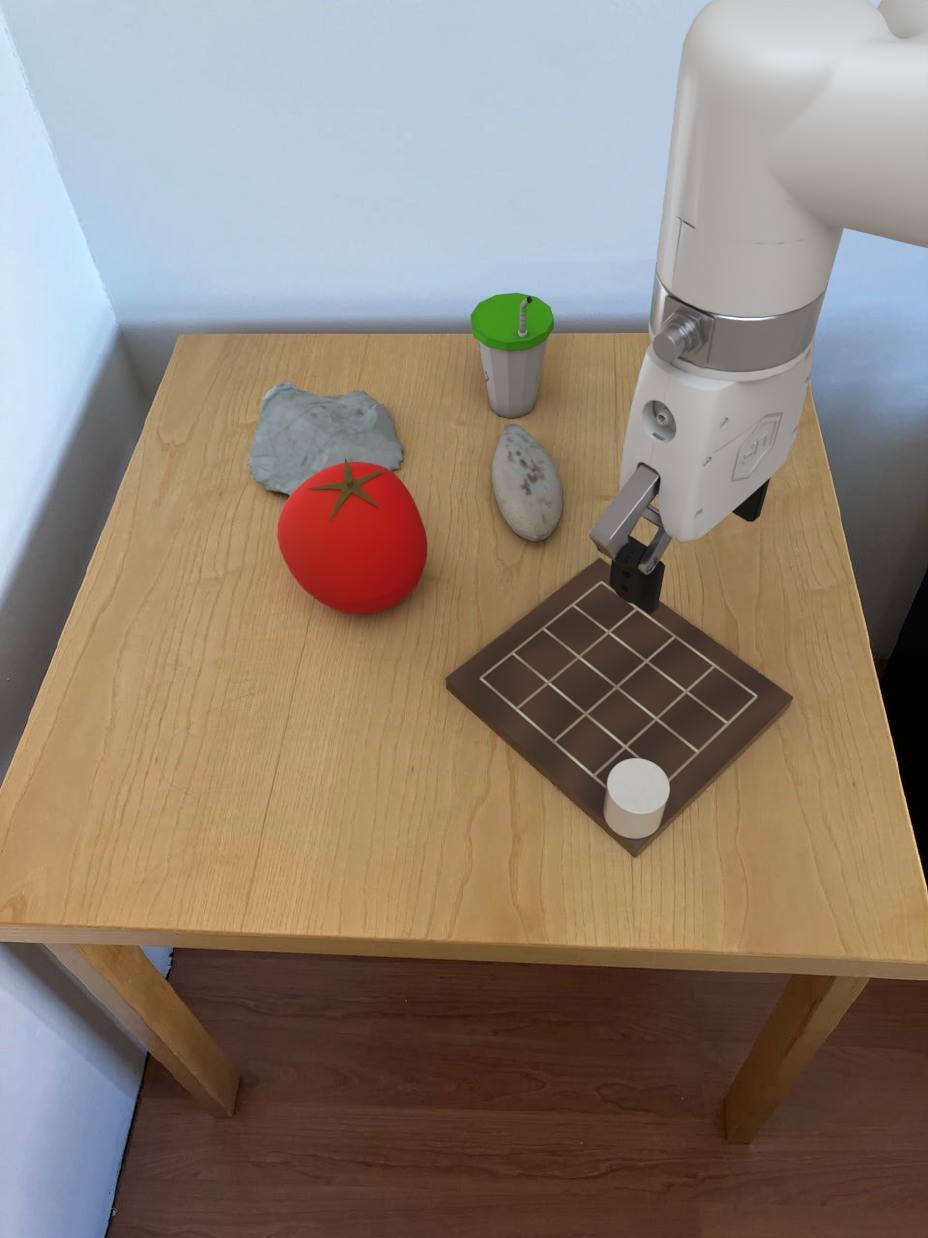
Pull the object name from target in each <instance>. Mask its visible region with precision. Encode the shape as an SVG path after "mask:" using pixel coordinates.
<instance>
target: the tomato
mask: <svg viewBox="0 0 928 1238" xmlns="http://www.w3.org/2000/svg"><path fill="white" fill-rule="evenodd" d="M276 537H277V542H278V547H279V550H280V553H281V555H282V557H283V561H284V562H285V565H286V566H287V568H288V570H289V572H290V574H291V575H292V576H293V578H294V579H295V581H296V582H297V583H298V584H299V585H300V586H301V588H302V589H303V590H304V591H305V592H307V593H308V594H309V595H311V596H312V597H313V598H315V600H317V601H318V602H320V603H321V604H322V605H325V606H326V607H328V608H330V609H333V610H336V611H339V612H341V613H346V614H350V615H369V614H374V613H378V612H382V611H385V610H387V609H391V608H392V607H394V606H397V604H399V603H401V602H402V601H403V600H404V599H405V598H406V597H407V596H409V595H410V594H412V592H413V591H414V590H415V588H416V587H417V585H418V584H419V583H420V580H421V578H422V576H423V573H424V570H425V566H426V562H427V558H428V540H427V539H428V538H427V532H426V529H425V525H424V522H423V520H422V516H421V514H420V511H419V509H418V506H417V504H416V502H415V500H414V498H413V496H412V493H411V492H410V490H409V489H408V488H407V486H406V484H404V482H403V481H402V480H401V479H400V477H399V476H398V475H396V473H394V472H393V471H392V472H391V471H390V470H388V468H385V467H382V466H380V465H376V464H372V463H366V462H347V460H346V458H345V463H340V464H336V465H334V466H331V467H328V468H325V469H323V470H321V471H319V472H317V473H316V474H314V475H313V476H311V477H310V478H308V479H307V480H306V481H304V482H303V483H302V484H301V485H300V486H299V487H298V488H297V489H296V490H295V491H294V492H293V493H292V494H291V495H290V496H288V498H287V500H286V501H285V503H284V505H283V507H282V509H281V511H280V513H279V518H278V521H277V533H276Z"/></svg>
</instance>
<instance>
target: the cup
mask: <svg viewBox="0 0 928 1238" xmlns="http://www.w3.org/2000/svg"><path fill="white" fill-rule="evenodd" d="M552 311H553V310H552V308H551V306H550V305H549V304H547V303H546V302H545V301H543V300H542V299H540V298H539V297H538V296H534V295H529V294H525V293H520V292H510V293H500V294H495V295H492V296H490V297H489V298H486V299H484V300H482V301H480V302H478V303H477V305H476V307H475V308H474V309H473V310H472V312H471V314H470V327H471V331H472V336H473V337H474V338H475V339H476V340H477V342H478V347H479V353H480V358H481V363H482V368H483V373H484V379H485V383H486V391H487V394H488V399H489V406H490V410H491V411H492V412H493V413H494V414H496V415H497V416H498V417H502V418H506V419H510V420H511V419H518V418H522V417H525V416H526V415H529V414H531V412H532V410H533V409H534V407H535V405H536V400H537V395H538V391H539V390H538V389H539V385H540V380H541V375H542V374H541V373H542V368H543V364H544V359H545V358H544V357H545V353H546V348H547V344H548V338H549V336H550V334H551V333H552V331H553V330H554V326H555V319H554V314H553V312H552Z"/></svg>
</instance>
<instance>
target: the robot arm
mask: <svg viewBox="0 0 928 1238" xmlns="http://www.w3.org/2000/svg"><path fill="white" fill-rule="evenodd" d="M675 90H676V91H675V99H674V100H675V101H674V109H673V116H672V125H671V133H670V134H671V135H670V143H669V152H668V160H667V169H666V176H665V187H664V197H663V203H662V211H661V220H660V227H659V234H658V243H657V244H658V245H657V249H656V250H657V251H656V261H655V267H654V276H653V277H654V278H653V284H652V285H653V286H652V292H651V293H652V294H651V302H650V309H649V319H648V335H649V339H650V343H649V344H648V346H647V348H646V351H645V353H644V357H643V361H642V364H641V368H640V370H639V374H638V377H637V382H636V385H635V389H634V393H633V397H632V402H631V406H630V411H629V414H628V419H627V420H628V421H627V425H626V431H625V435H624V442H623V449H622V455H621V462H620V473H619V492H618V493H617V495H616V496H615V497H614V499H613V500H612V501H611V502H610V504H609V505H608V506H607V508H606V509H605V510H604V511H603V512H602V514H601V515H600V517H598V519H597V520H596V522H595V523H594V525H592V527H591V529H590V531H589V535H588V537H589V539H590V540H591V542H592V543H593V544H594V546H595V547H596V549H597V551H598V552H600V553H601V554H602V555H604V556H605V557H607V558H609V559H610V560H611V563H610V565H611V571H610V581H609V584H610V586H611V588H612V589H613V590H614V591H615V592H616V594H617V595H618V596H619V597H621V598H622V599H623V600H625V601H626V602H628V603H633V604H635V605H636V606H638V607H639V608H641V609H642V610H644V611H645V612H646V613H648V614H651V613H653V612H654V611H655V610H656V609H657V608H658V605H659V600H660V599H661V595H662V587H663V582H664V576H665V570H666V565H665V563H664V561H662V560H661V559H662V558H663V555H664V554H665V552H666V550H667V549H668V547H669V545H670V543H671V542H672V540H673V539H674V540H676V541H678V542H679V543H682V544H684V543H685V544H686V543H690V542H693V541H696V540H698V539H700V538H702V537H704V536H705V535H706V534H708V532H710V531H711V530H712V529H714V528H715V527H716V526H717V525H718V524H719V523H720V522H722V521H723V520H724V519H725V518H727V516H728V515H730V514H731V513H732V514H734V515H735V516H737V517H739V518H741V519H742V520H744V521H746V522H748V523H750V522H751V523H753V522H755V521H756V520H757V519H759V518H760V516H761V515H762V514H761V513H762V510H763V506H764V503H765V499H766V496H767V492H768V487H769V485H770V481H771V478H772V476H774V475H775V474H776V473H777V472H778V471H779V470H781V468H782V466H783V465H784V464H785V463H786V462H787V460H788V459H789V457H790V456H791V454H792V451H793V448H794V445H795V441H796V438H797V433H798V430H799V426H800V422H801V417H802V414H803V410H804V406H805V405H804V404H805V401H806V397H807V396H806V395H807V392H808V385H809V382H810V377H811V372H812V366H813V360H814V353H815V346H816V333H817V326H818V325H817V324H818V321H819V318H820V314H821V311H822V308H823V303H824V300H825V296H826V293H827V289H828V286H829V281H830V279H831V275H832V272H833V268H834V265H835V262H836V257H837V253H838V250H839V246H840V244H841V240H842V237H843V233H844V229H847V230H850V231H856V232H859V233H864V234H868V235H871V236H877V237H880V238H884V239H885V238H886V239H887V240H888V239H889V240H892V241H895V242H900V243H904V244H909V245H912V246H917V247H921V248H926V249H928V0H880V1H879V4H878V5H877V7H876V5H874V4H873V3H872V2H871V1H869V0H711V1H710V2H707V4H705V6H704V7H703V8H701V9H700V11H699V12H698V13H697V15H696V16H695V17H694V18H693V20H692V21H691V24H690V26H689V28H688V30H687V32H686V34H685V37H684V40H683V43H682V48H681V55H680V60H679V66H678V73H677V82H676V89H675ZM656 497H657V500H656V504H657V507H655V506H654V505H652V504H651V503H652V502H653V501H654V499H655V498H656ZM641 517H642V518H643V519H645V520H647V521H648V522H650V523H652V524H653V525H655V526H656V527H658V528H657V529H656V531H655V533H654V535H653V537H652V538H651V539H650V541H649V544H648V545H646V544H644V542H641V541H640V540H638V539H637V538H635V537H634V536H632V533H633V531H634V529H635V528H636V526H637V524H638V523H639V520H640V518H641Z"/></svg>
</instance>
